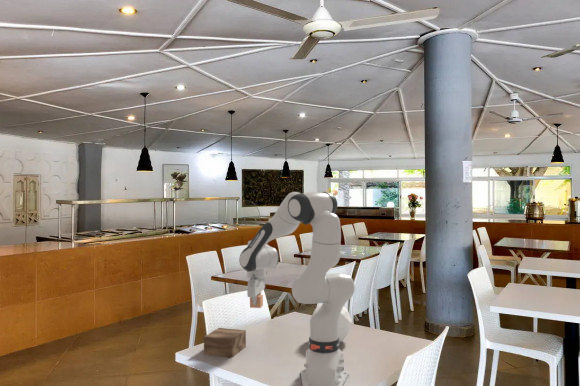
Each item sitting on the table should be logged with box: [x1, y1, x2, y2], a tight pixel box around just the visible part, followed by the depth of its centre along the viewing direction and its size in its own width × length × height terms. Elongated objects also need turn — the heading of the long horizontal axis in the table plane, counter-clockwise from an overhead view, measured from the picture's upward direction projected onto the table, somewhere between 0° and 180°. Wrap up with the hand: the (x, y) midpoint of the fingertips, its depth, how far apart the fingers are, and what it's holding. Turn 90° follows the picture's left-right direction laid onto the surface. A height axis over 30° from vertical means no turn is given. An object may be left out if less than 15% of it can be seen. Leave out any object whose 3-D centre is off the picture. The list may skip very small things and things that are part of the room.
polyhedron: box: [312, 303, 353, 343], centre depth 207 cm, size 19×20×20 cm
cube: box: [249, 294, 264, 309], centre depth 201 cm, size 5×5×5 cm
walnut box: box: [203, 327, 247, 359], centre depth 196 cm, size 14×14×8 cm
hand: (256, 302), depth 201 cm, fingers closed on cube, 5 cm apart
